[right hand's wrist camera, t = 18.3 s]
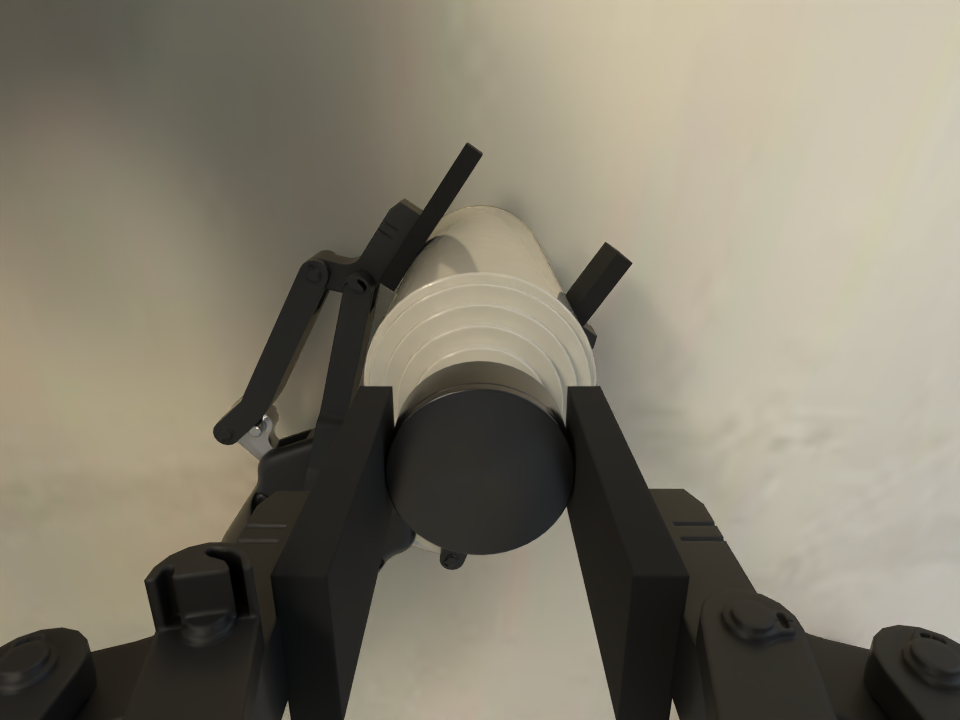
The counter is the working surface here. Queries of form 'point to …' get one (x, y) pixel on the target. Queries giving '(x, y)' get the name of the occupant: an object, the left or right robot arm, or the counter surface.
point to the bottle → (480, 310)
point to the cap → (480, 459)
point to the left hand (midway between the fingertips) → (548, 202)
